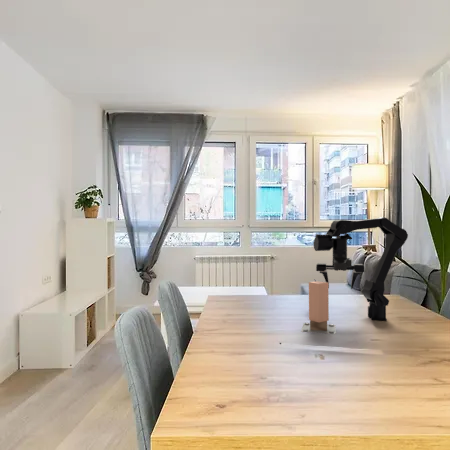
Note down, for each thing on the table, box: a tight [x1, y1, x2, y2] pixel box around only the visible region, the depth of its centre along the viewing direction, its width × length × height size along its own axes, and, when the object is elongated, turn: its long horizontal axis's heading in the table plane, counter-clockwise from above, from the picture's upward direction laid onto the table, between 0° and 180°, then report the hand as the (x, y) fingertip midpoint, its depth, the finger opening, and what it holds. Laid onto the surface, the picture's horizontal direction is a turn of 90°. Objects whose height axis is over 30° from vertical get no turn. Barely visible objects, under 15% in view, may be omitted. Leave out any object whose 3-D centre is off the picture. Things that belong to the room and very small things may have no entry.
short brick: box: [309, 320, 328, 331], centre depth 146 cm, size 6×6×3 cm
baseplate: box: [300, 322, 337, 335], centre depth 146 cm, size 12×12×2 cm
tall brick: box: [308, 280, 330, 322], centre depth 146 cm, size 5×5×14 cm
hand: (339, 288), depth 162 cm, fingers open, 9 cm apart
